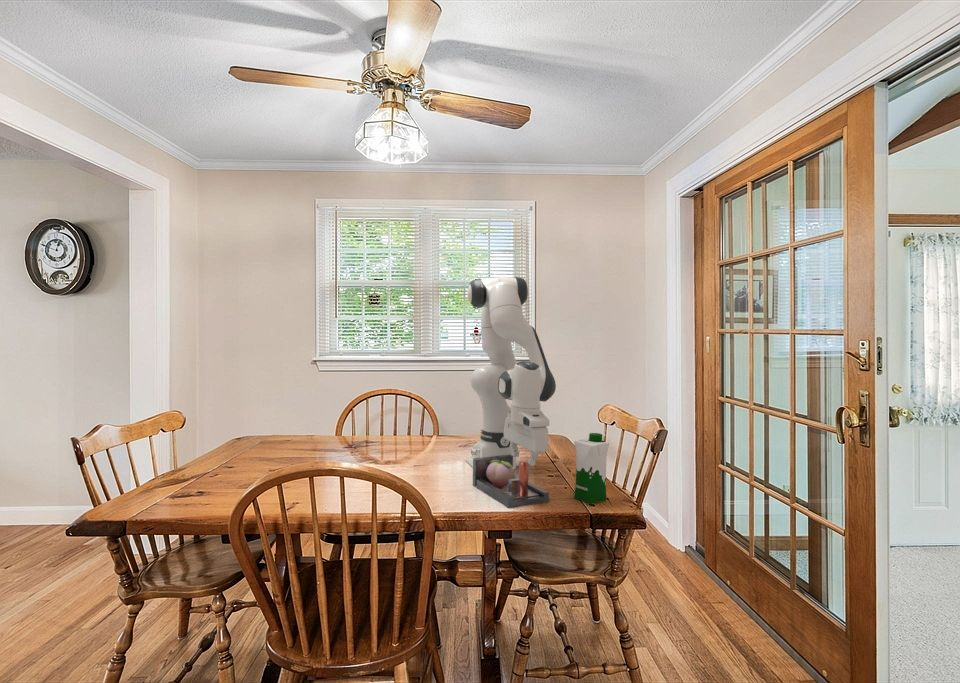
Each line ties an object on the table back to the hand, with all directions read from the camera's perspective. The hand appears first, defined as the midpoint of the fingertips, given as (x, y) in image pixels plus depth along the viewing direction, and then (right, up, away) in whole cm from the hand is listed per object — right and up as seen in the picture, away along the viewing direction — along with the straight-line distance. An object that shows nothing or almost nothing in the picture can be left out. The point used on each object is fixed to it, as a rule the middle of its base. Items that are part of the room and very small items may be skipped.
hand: (523, 460), depth 158 cm
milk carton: (+21, -13, +3) cm, 25 cm away
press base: (-4, -12, +8) cm, 15 cm away
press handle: (-1, -12, +1) cm, 12 cm away
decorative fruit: (-6, -12, +12) cm, 19 cm away
